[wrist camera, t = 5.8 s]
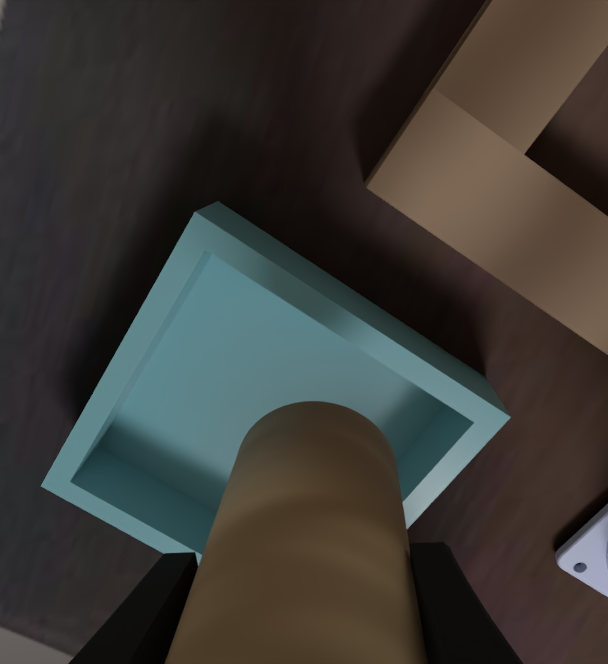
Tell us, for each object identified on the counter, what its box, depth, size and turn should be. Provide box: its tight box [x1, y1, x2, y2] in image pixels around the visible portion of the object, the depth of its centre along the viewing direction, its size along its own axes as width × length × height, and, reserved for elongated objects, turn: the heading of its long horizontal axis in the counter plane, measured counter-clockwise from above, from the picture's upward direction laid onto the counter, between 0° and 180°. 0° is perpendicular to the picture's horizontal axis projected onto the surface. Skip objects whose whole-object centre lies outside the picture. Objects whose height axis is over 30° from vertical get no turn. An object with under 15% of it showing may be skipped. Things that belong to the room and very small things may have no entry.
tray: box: [41, 201, 510, 566], centre depth 19 cm, size 12×12×3 cm
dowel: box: [165, 401, 428, 664], centre depth 10 cm, size 4×4×7 cm
